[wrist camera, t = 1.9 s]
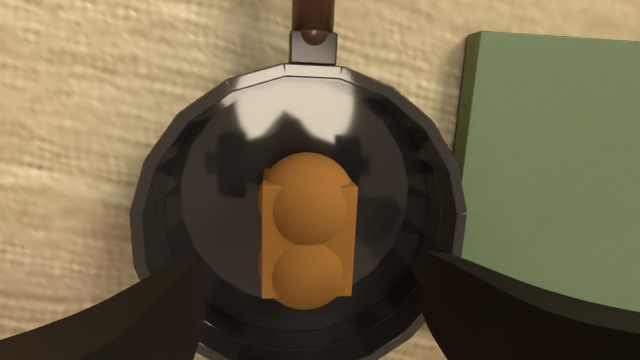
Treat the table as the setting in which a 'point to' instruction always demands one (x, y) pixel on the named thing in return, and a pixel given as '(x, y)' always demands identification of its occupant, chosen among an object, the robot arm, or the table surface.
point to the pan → (245, 222)
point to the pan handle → (313, 33)
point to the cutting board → (553, 162)
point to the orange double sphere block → (306, 231)
